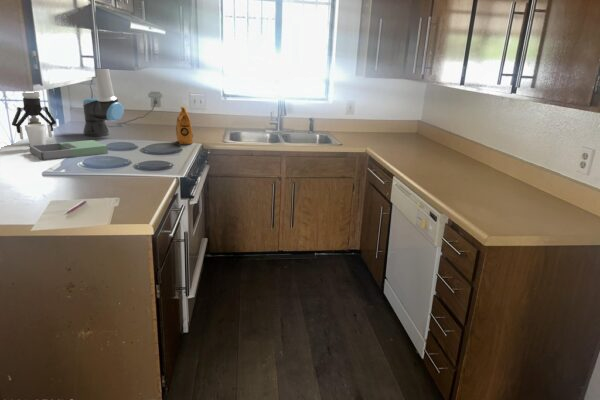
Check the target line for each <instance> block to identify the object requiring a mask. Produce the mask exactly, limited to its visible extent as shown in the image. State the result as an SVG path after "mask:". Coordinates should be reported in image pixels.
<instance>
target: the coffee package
mask: <svg viewBox="0 0 600 400" xmlns="http://www.w3.org/2000/svg"><path fill="white" fill-rule="evenodd" d="M180 109H181V111H180V112H179V114H178V115H177V118H176V127H175V133H176V134H175V135H176V139H177V142H178V143H179V144H180V145H191V144H193V141H194V135H193V126H192V123H191V119H190V115H189V114H188V111H187V110H186V107H185V106H181V107H180Z"/></svg>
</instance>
